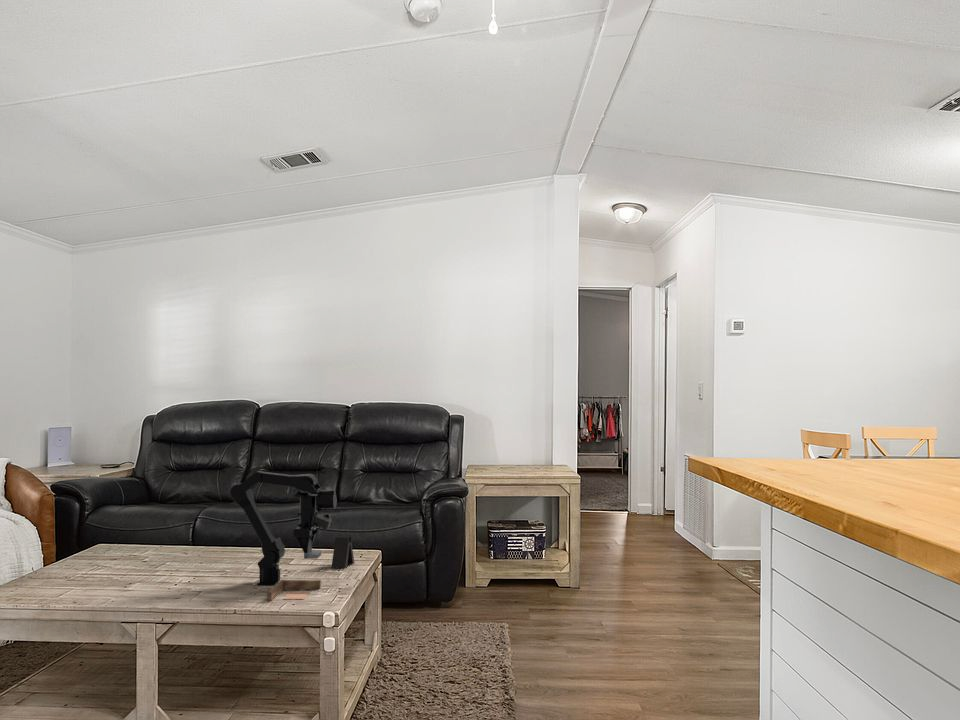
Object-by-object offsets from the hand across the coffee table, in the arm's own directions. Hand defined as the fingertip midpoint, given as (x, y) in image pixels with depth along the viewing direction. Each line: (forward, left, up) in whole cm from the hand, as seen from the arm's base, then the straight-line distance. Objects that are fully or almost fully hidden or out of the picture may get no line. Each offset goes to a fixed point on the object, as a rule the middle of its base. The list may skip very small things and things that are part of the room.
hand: (307, 551), depth 251 cm
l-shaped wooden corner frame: (0, -15, -11) cm, 19 cm away
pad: (+1, -16, -11) cm, 20 cm away
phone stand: (+8, +24, -12) cm, 28 cm away
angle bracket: (+2, 0, -2) cm, 3 cm away
